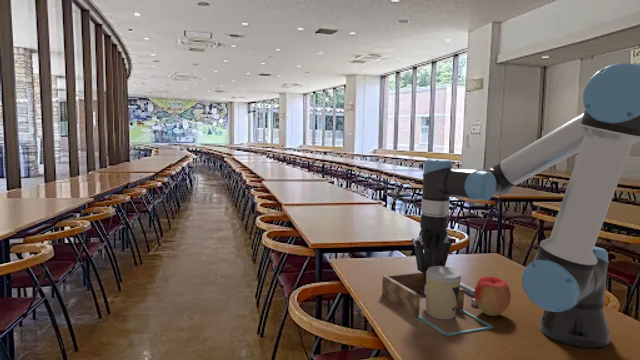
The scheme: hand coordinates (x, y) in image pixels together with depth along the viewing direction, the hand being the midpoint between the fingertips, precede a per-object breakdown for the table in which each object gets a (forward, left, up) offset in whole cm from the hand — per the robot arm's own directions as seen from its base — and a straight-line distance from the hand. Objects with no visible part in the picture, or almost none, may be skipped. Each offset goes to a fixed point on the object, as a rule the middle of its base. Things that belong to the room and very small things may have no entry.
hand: (429, 295), depth 127 cm
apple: (-10, -14, -4) cm, 17 cm away
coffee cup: (-5, 0, -3) cm, 6 cm away
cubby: (+4, 0, -3) cm, 5 cm away
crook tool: (+5, -17, -4) cm, 18 cm away
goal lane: (-11, 0, -3) cm, 12 cm away
